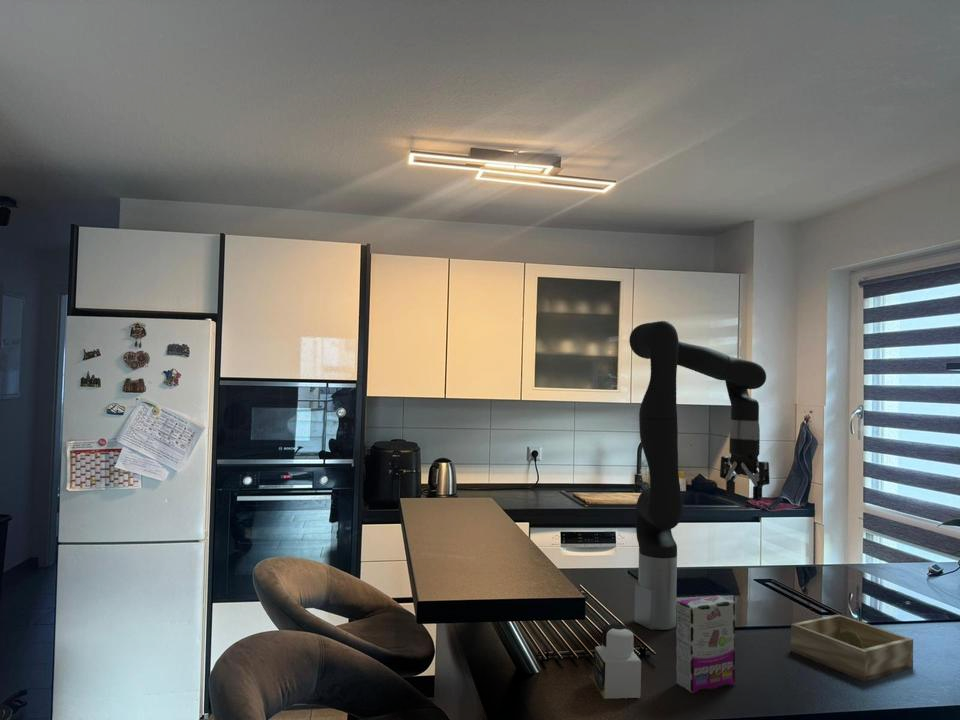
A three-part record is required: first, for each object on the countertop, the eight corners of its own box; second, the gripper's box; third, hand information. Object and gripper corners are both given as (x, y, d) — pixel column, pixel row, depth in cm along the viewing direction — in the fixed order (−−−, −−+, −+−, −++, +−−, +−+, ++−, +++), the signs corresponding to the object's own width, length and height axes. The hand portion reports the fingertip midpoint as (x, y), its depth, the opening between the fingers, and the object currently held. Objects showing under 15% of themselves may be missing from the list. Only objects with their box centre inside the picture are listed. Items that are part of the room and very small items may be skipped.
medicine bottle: (593, 682, 130) (595, 620, 130) (629, 682, 130) (630, 620, 131) (603, 699, 123) (605, 634, 123) (640, 699, 123) (642, 634, 124)
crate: (864, 681, 134) (864, 651, 134) (790, 650, 149) (791, 624, 149) (913, 667, 142) (913, 639, 142) (838, 639, 157) (838, 614, 157)
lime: (865, 659, 143) (865, 636, 143) (840, 657, 144) (841, 633, 144) (857, 651, 147) (857, 628, 147) (834, 649, 148) (834, 626, 148)
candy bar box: (717, 675, 135) (718, 594, 136) (735, 685, 130) (736, 601, 131) (673, 683, 131) (675, 599, 131) (691, 694, 126) (692, 607, 127)
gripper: (713, 435, 182) (712, 494, 181) (756, 439, 169) (756, 503, 168) (733, 435, 185) (732, 493, 184) (776, 439, 172) (776, 501, 172)
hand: (743, 497), depth 176 cm, fingers open, 8 cm apart
